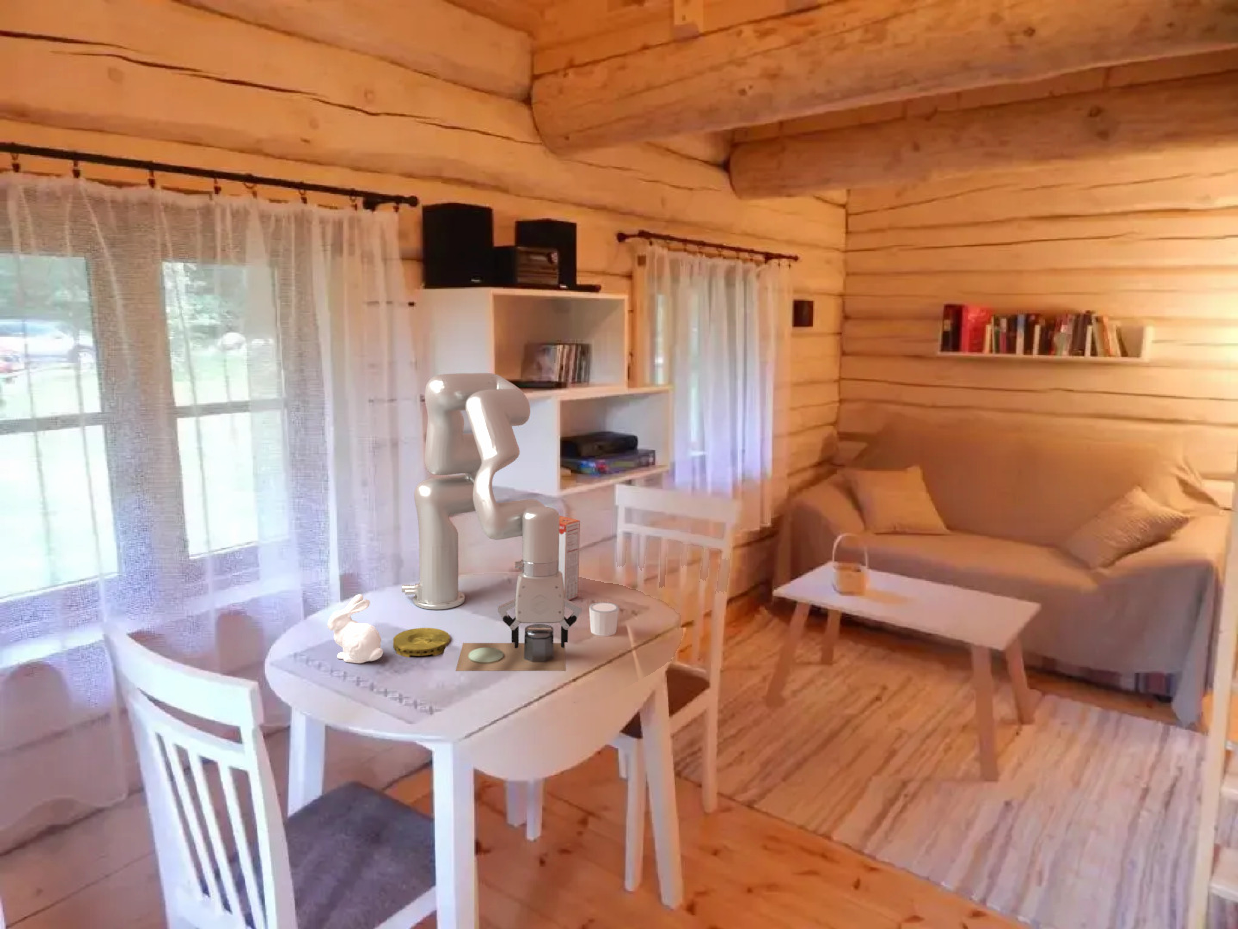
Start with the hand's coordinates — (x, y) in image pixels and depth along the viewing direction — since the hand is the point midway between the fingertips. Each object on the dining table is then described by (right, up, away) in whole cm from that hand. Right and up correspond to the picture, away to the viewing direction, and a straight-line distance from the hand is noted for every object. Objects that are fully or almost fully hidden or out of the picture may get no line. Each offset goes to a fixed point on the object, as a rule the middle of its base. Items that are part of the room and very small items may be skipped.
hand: (539, 645), depth 173 cm
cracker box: (-1, +4, +42) cm, 43 cm away
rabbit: (-39, -3, +1) cm, 39 cm away
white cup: (+13, -1, +16) cm, 21 cm away
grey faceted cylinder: (0, -2, +1) cm, 3 cm away
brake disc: (-26, -2, +7) cm, 27 cm away
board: (-6, -3, 0) cm, 7 cm away
